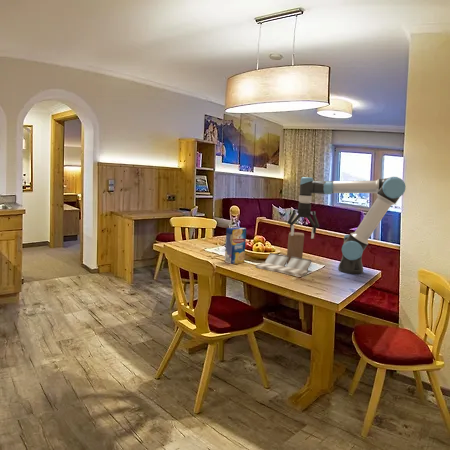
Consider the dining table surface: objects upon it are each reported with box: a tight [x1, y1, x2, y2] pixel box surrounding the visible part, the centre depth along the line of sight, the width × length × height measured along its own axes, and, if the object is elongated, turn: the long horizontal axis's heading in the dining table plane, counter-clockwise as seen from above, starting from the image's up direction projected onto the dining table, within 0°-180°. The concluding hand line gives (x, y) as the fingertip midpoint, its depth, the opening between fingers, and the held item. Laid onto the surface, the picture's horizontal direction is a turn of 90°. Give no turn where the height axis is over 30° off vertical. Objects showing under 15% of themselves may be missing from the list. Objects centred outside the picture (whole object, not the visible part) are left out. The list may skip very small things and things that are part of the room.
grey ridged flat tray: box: [255, 262, 309, 277], centre depth 245 cm, size 30×10×2 cm, turn 59°
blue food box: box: [224, 226, 247, 265], centre depth 259 cm, size 7×11×22 cm, turn 128°
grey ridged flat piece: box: [264, 252, 289, 267], centre depth 256 cm, size 13×9×2 cm
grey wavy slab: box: [286, 256, 312, 271], centre depth 248 cm, size 13×9×2 cm
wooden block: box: [286, 231, 305, 264], centre depth 266 cm, size 10×10×20 cm
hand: (302, 237), depth 248 cm, fingers open, 12 cm apart
